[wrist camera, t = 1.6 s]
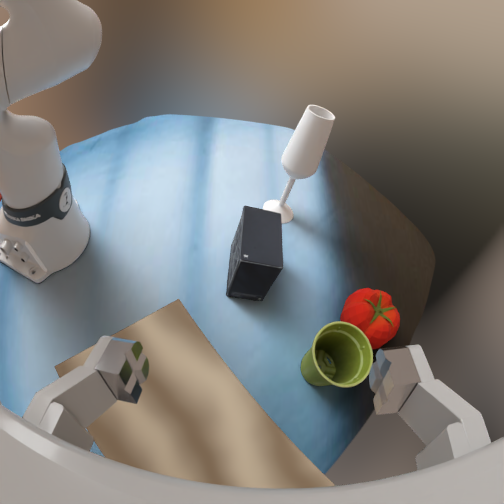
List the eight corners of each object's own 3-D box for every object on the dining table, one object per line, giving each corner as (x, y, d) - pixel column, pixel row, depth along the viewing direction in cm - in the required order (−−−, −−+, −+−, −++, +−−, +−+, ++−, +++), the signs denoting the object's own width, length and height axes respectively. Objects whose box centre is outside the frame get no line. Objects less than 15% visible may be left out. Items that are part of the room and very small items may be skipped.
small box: (264, 302, 46) (285, 269, 38) (225, 297, 45) (237, 261, 37) (265, 250, 52) (283, 212, 44) (230, 244, 51) (242, 203, 43)
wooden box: (204, 523, 24) (219, 572, 11) (99, 390, 32) (54, 366, 19) (281, 470, 31) (337, 487, 18) (178, 345, 39) (178, 298, 26)
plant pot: (311, 407, 37) (340, 401, 30) (278, 359, 41) (299, 342, 34) (352, 375, 42) (383, 361, 35) (321, 331, 45) (347, 310, 39)
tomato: (391, 337, 48) (416, 322, 42) (352, 364, 43) (377, 350, 37) (363, 292, 52) (385, 272, 46) (322, 311, 48) (343, 291, 42)
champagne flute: (292, 202, 62) (335, 109, 43) (294, 225, 58) (345, 127, 39) (262, 197, 61) (299, 98, 42) (262, 220, 57) (304, 115, 38)
